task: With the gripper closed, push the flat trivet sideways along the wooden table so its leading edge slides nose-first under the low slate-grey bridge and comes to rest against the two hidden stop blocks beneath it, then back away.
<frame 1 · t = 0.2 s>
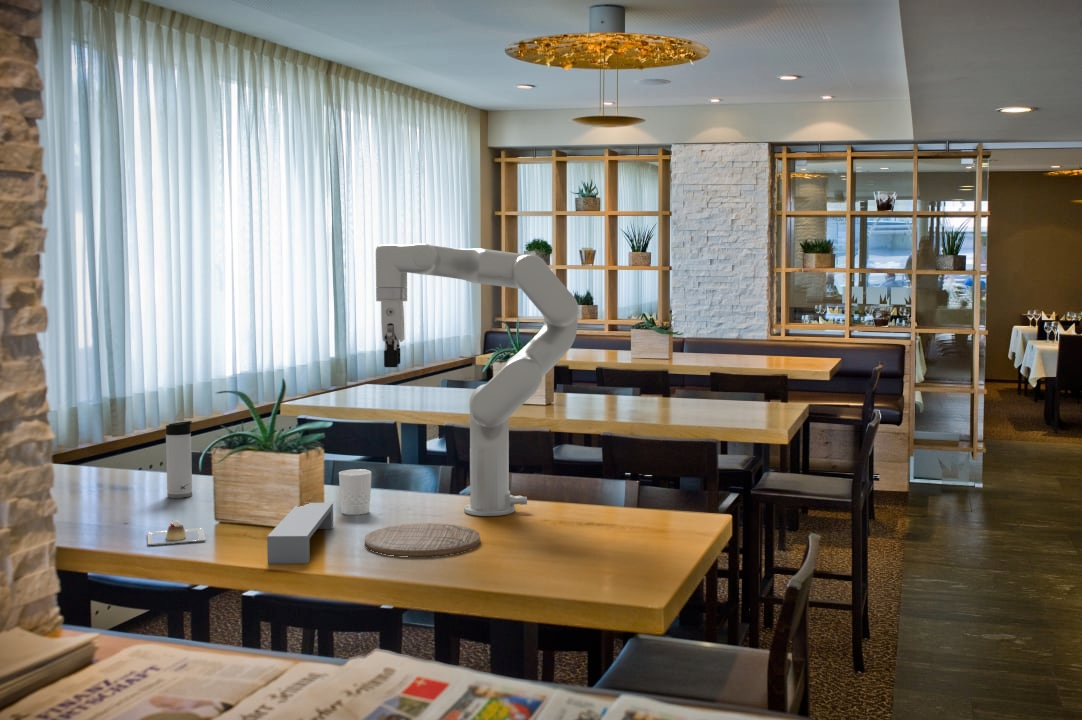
hand: (392, 365, 268), 36 cm above the table, tool pointing down, fingers open, 9 cm apart
white cup: (355, 513, 271), on the table
dessert: (176, 541, 245), on the table
travel mug: (180, 497, 291), on the table
trivet: (422, 545, 240), on the table
bridge: (302, 543, 239), on the table
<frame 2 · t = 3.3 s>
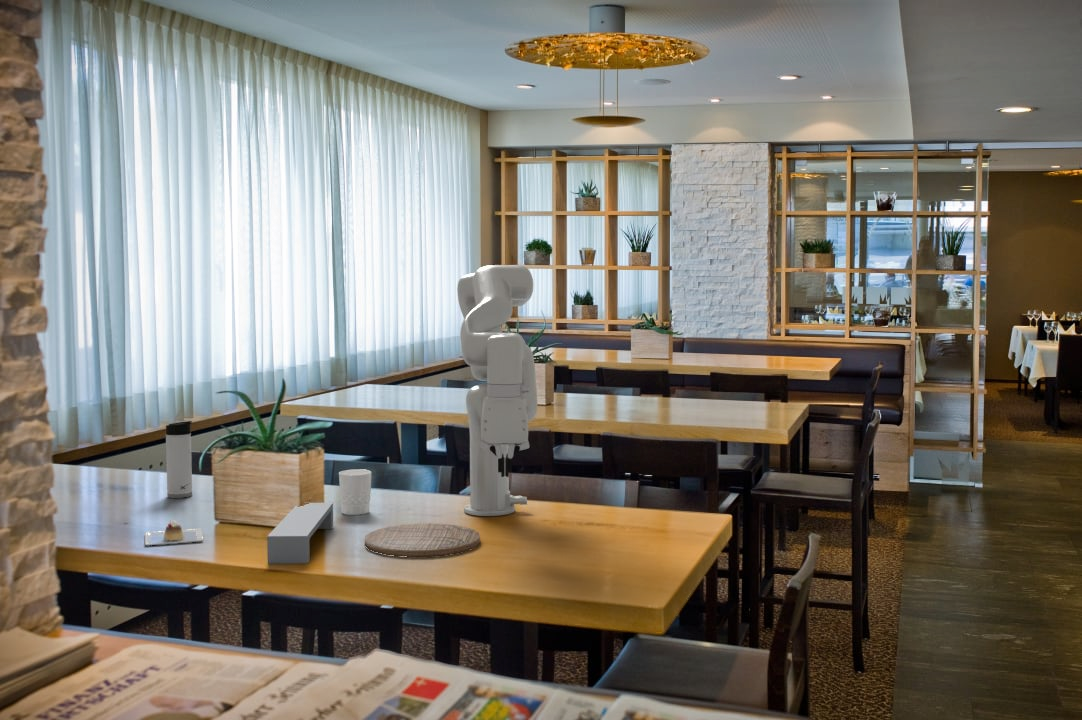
hand: (504, 475, 239), 15 cm above the table, tool pointing down, fingers closed
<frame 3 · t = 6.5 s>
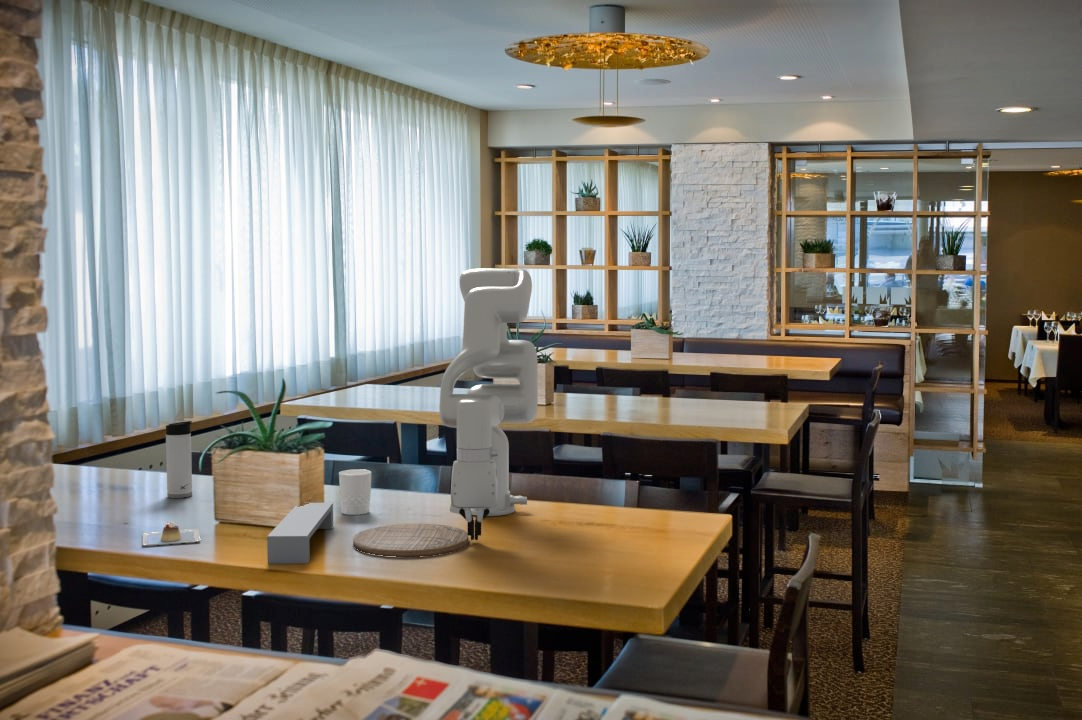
hand: (474, 538, 240), 1 cm above the table, tool pointing down, fingers closed
trivet: (411, 545, 240), on the table
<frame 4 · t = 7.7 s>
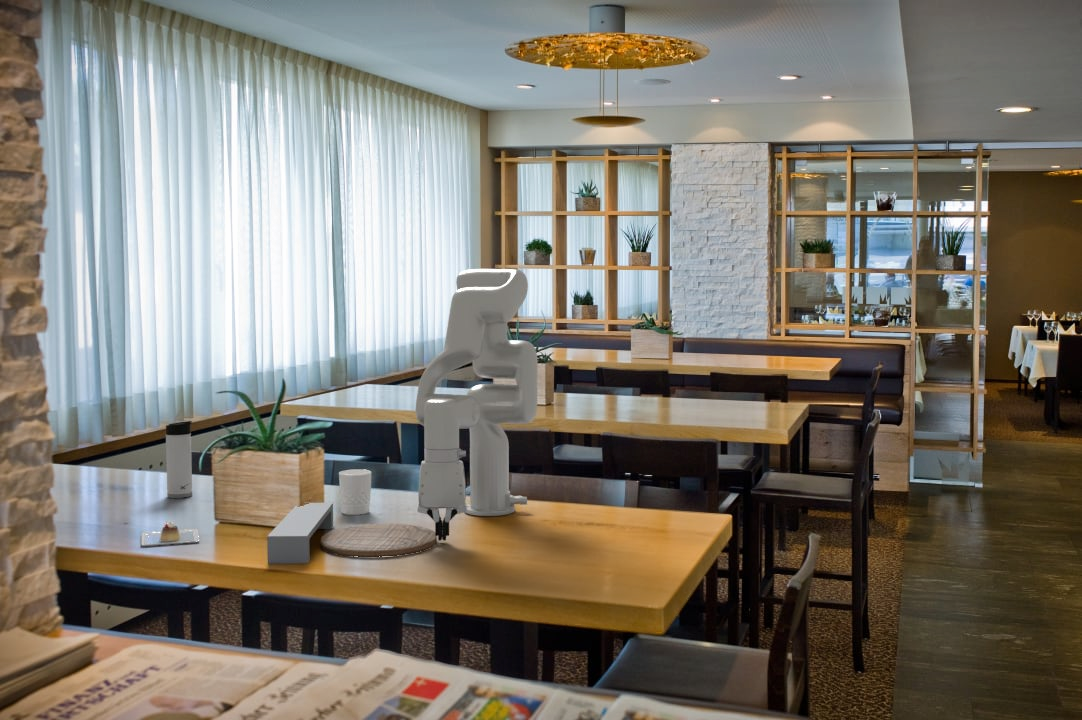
hand: (442, 538, 240), 1 cm above the table, tool pointing down, fingers closed
trivet: (379, 545, 240), on the table
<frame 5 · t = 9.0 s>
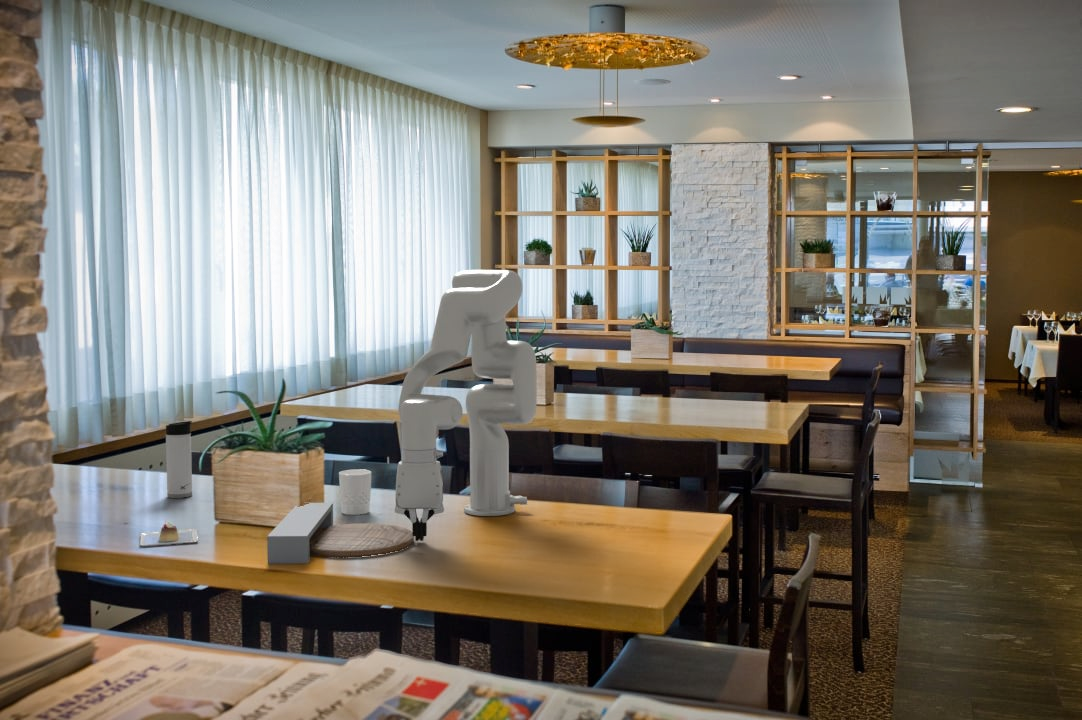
hand: (419, 539, 240), 1 cm above the table, tool pointing down, fingers closed
trivet: (356, 545, 240), on the table, touching gripper
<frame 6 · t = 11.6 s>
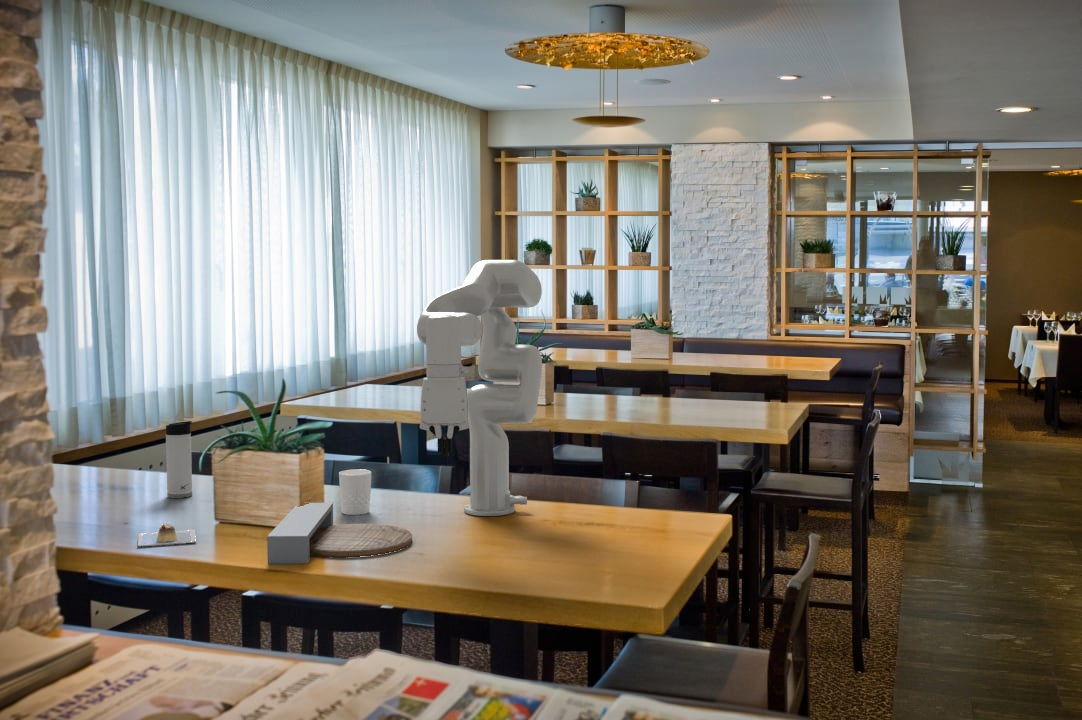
hand: (444, 455, 239), 19 cm above the table, tool pointing down, fingers closed
trivet: (354, 546, 240), on the table
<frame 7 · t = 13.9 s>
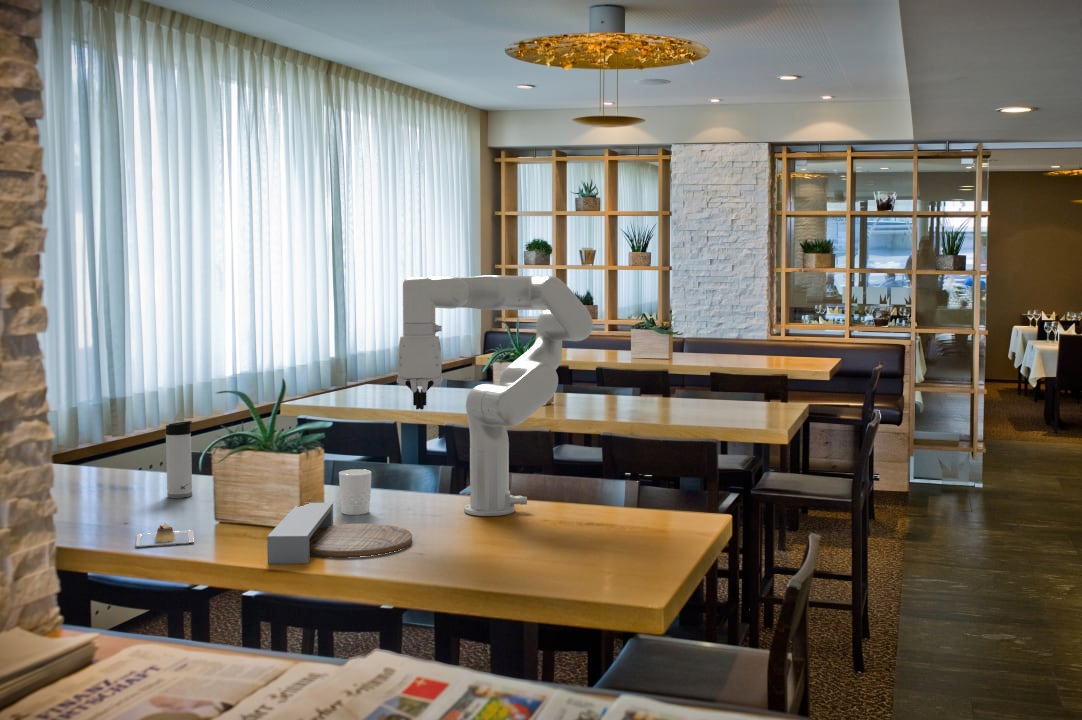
hand: (419, 408, 258), 27 cm above the table, tool pointing down, fingers closed
at the end: trivet inside the target area (0.6 cm from its centre), on the table; trivet moved 14.9 cm from its start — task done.
